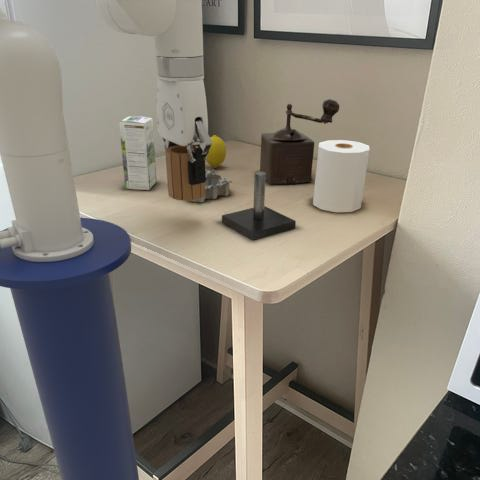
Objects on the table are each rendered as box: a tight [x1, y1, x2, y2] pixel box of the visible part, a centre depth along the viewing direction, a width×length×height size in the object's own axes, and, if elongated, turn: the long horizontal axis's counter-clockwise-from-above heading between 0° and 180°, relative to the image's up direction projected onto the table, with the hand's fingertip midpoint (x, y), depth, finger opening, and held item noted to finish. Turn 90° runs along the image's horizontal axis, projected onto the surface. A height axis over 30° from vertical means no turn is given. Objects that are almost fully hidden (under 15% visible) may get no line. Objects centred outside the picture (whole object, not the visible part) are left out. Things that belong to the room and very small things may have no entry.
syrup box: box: [119, 115, 157, 191], centre depth 109 cm, size 6×6×14 cm
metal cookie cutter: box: [190, 169, 233, 203], centre depth 108 cm, size 11×8×4 cm
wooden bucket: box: [164, 145, 206, 201], centre depth 89 cm, size 7×7×8 cm
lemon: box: [205, 134, 227, 169], centre depth 124 cm, size 6×6×8 cm
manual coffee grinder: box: [259, 98, 340, 186], centre depth 116 cm, size 16×11×18 cm
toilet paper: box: [312, 139, 371, 214], centre depth 102 cm, size 10×10×12 cm
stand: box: [221, 171, 297, 241], centre depth 92 cm, size 10×10×10 cm
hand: (186, 177), depth 90 cm, fingers closed on wooden bucket, 6 cm apart
